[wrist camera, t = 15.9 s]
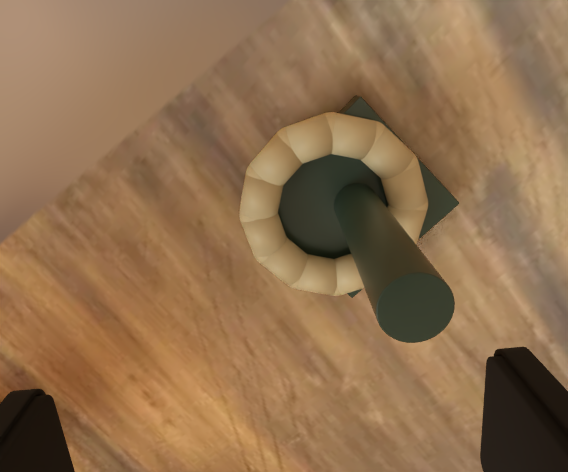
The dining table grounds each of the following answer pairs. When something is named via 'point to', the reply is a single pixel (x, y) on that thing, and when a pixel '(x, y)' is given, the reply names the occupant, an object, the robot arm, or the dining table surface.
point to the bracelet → (309, 146)
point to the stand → (371, 237)
